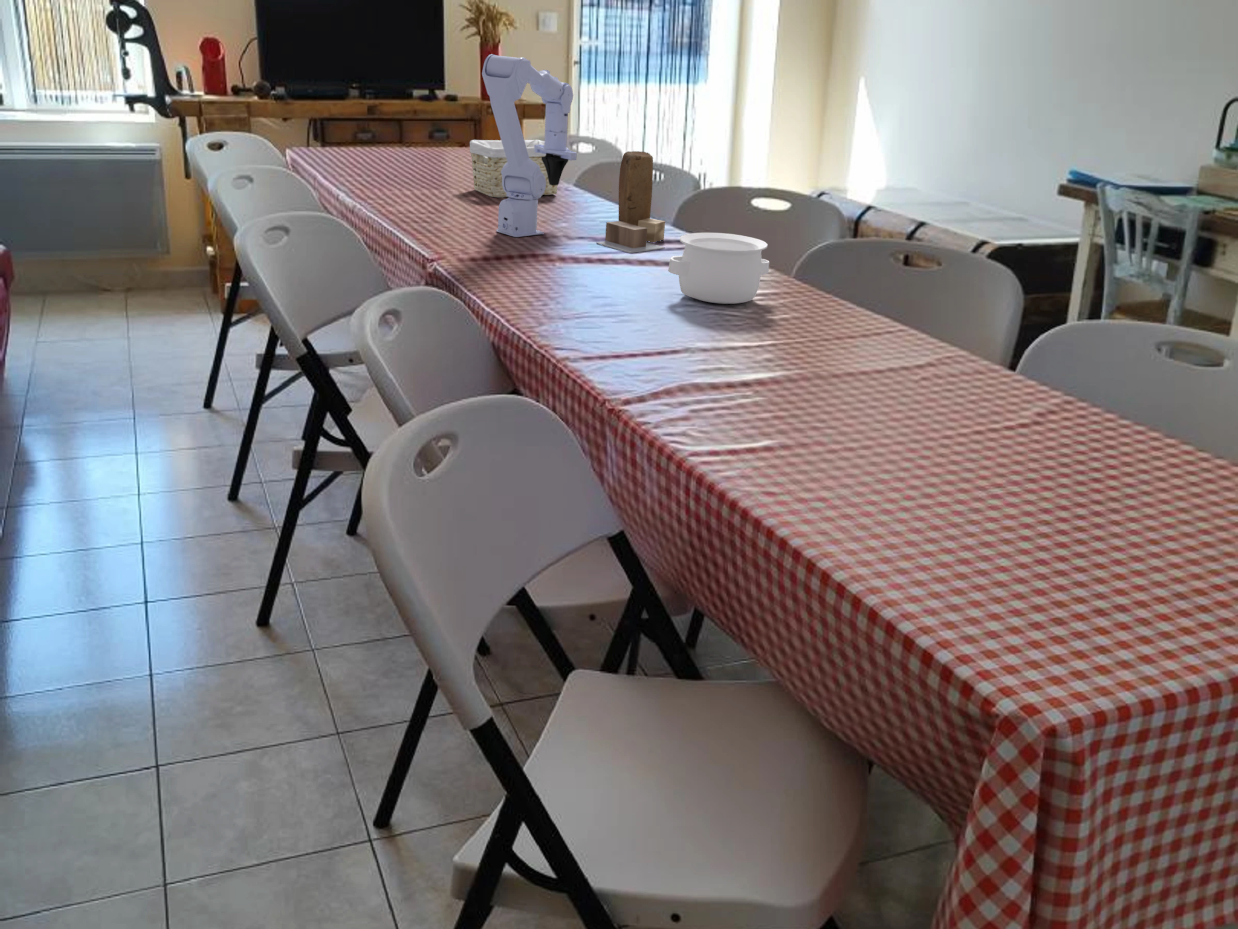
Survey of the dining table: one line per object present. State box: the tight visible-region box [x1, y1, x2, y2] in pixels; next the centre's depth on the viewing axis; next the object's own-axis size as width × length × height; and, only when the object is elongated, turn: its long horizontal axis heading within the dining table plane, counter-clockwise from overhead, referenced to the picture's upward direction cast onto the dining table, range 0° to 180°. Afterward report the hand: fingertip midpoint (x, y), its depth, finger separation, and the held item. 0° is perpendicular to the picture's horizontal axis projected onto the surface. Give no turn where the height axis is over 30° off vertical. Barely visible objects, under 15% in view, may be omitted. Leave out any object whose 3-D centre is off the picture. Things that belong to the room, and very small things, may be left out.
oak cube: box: [638, 217, 666, 243], centre depth 292 cm, size 5×5×5 cm
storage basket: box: [469, 139, 559, 199], centre depth 342 cm, size 24×16×15 cm
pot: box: [667, 232, 770, 305], centre depth 238 cm, size 22×17×12 cm
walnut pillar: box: [604, 220, 647, 248], centre depth 284 cm, size 4×4×10 cm
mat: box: [596, 240, 665, 254], centre depth 284 cm, size 12×12×1 cm
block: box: [618, 150, 654, 226], centre depth 300 cm, size 11×8×20 cm
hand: (553, 184), depth 299 cm, fingers closed
